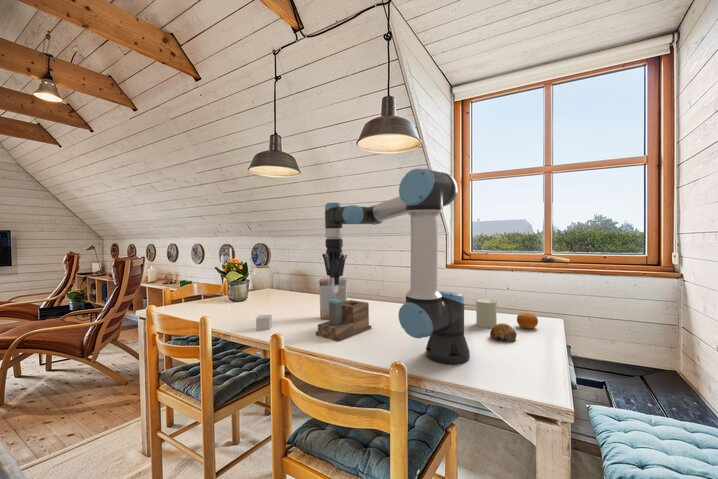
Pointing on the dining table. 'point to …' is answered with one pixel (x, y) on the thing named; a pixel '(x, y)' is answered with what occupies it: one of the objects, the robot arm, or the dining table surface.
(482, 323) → the can
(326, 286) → the cracker box
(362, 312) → the wooden desk organizer
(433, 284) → the robot arm
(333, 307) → the plug
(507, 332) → the bread roll
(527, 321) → the fruit
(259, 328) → the gray cube
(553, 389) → the dining table surface
